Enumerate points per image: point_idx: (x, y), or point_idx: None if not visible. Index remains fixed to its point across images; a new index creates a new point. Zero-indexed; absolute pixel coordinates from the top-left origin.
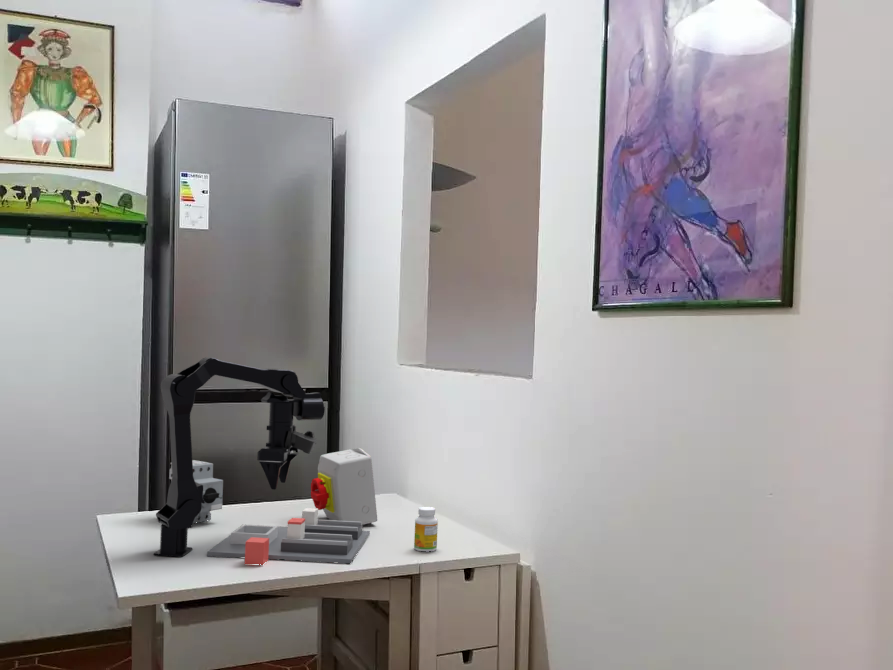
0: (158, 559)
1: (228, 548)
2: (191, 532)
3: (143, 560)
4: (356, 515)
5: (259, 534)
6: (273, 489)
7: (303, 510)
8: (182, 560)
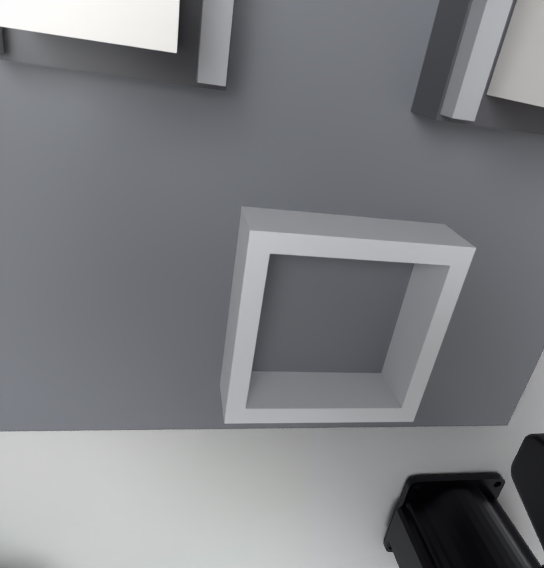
0: None
1: (472, 372)
2: (128, 559)
3: None
4: None
5: (458, 292)
6: (529, 451)
7: (137, 43)
8: None
